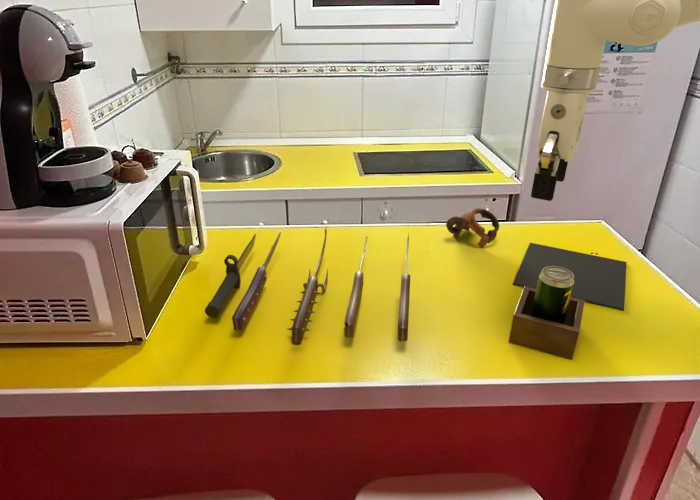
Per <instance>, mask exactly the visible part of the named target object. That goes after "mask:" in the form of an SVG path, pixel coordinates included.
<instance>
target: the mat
mask: <svg viewBox="0 0 700 500" xmlns="http://www.w3.org/2000/svg"><path fill="white" fill-rule="evenodd" d="M548 266H558V267H562V268H565V269H568V270H569V271H571V272H572V273H573V274H574V286H573V290H572V294H571V297H573V298H577V299H581V300H585V303H589V304H592V305H593V304H594V305H598V306H601V307H606V308H611V309H613V310H614V309H615V310H619V311H622V312H623V311H625V298H626V283H627V281H626V280H627V278H626V277H627V261H623V260H618V259H614V258H609V257H604V256H599V255H594V254H589V253H583V252H579V251H574V250H570V249H564V248H560V247H554V246H550V245H546V244H545V245H544V244H540V243H535V242H529V244H528V247H527V249H526V251H525V253H524V256H523V258H522V260H521V263H520V265H519V267H518V270H517V273H516V275H515V277H514V279H513V282H512V286H517V287H521V288H524V286H526V287H530V288H534V289H536V288H537V283H538V279H539V275H540V273H541V272H542V269H543V268H545V267H548Z"/></svg>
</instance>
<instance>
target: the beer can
mask: <svg viewBox="0 0 700 500" xmlns="http://www.w3.org/2000/svg"><path fill="white" fill-rule="evenodd" d="M573 286H574V274H573V273H572V272H571V271H569V270H568V269H565V268H562V267H558V266H548V267H545V268H543V269H542V272H541V273H540V275H539V279H538V283H537V288H536V293H535V298H534V303H533V308H532V312H531V316H532V317H536V318H540V319H544V320H548V321H552V322H556V323H560V324H563V325H564V323H565V319H566V315H567V311H568V306H569V302H570V298H571V294H572V290H573Z"/></svg>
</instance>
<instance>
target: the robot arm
mask: <svg viewBox="0 0 700 500" xmlns="http://www.w3.org/2000/svg"><path fill="white" fill-rule="evenodd" d="M699 21H700V0H555V2H554V6H553V12H552V18H551V25H550V30H549V36H548V41H547V49H546V54H545V59H544V64H543V72H542V78H541V81H540V82H541V83H540V88H541V89H542V90H544V91H546V97H545V101H544V107H543V111H542V117H541V122H540V128H539V132H538V133H539V134H538V140H537V145H536V156H537V157H538V158H539V159H538V162H537V165H536V168H535V172H534V175H533V180H532V187H531V193H530V197H531V198H532V199H538V200H543V201H548V202H551V201H553V199H554V195H555V191H556V185H557V182H561V183H563V182H564V181H565V178H566V173H567V169H568V163H569V161H570V160H572V159H573V157H574V156H575V155H576V152H577V151H578V148H579V145H580V140H581V134H582V129H583V123H584V117H585V112H586V107H587V100H588V94H591V93H595V92H596V88H597V84H598V79H599V74H600V70H601V64H602V60H603V56H604V51H605V47H606V42H612V43H616V44H617V43H618V44H622V45H628V46H634V47H645V46H649V45H653V44H656V43H658V42H660V41H663V39H665V38H667V36H669V35H670V34H671V33H672V32H673V31H674V29H675V28H678V27H681V26H684V25H689V24H692V23H696V22H699Z"/></svg>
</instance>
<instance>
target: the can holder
mask: <svg viewBox="0 0 700 500" xmlns="http://www.w3.org/2000/svg"><path fill="white" fill-rule="evenodd" d="M535 293H536V289H534V288H530V287H526V286H524V287H523V289H522V292H521V294H520V297H519V300H518V302H517V305H516V307H515V310H514V313H513V316H512V321H511V328H510V332H509V338H508V343H511V344H514V345H517V346H522V347H524V348H528V349H532V350H536V351H539V352H543V353H546V354H550V355H553V356H558V357H560V358H565V359H567V360H568V359H569V360H573V359H574V354H575V351H576V347H577V344H578V343H577V342H578V339H579V335H580V331H581V326H582V320H583V314H584V308H585V303H586V302H585V300H581V299H577V298H573V297H571V298H570V302H569V306H568V311H567V315H566V319H565V323H564V325H563V324H560V323H556V322H552V321H548V320H544V319H540V318H536V317H532V316H531V312H532V308H533V303H534V298H535Z"/></svg>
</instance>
